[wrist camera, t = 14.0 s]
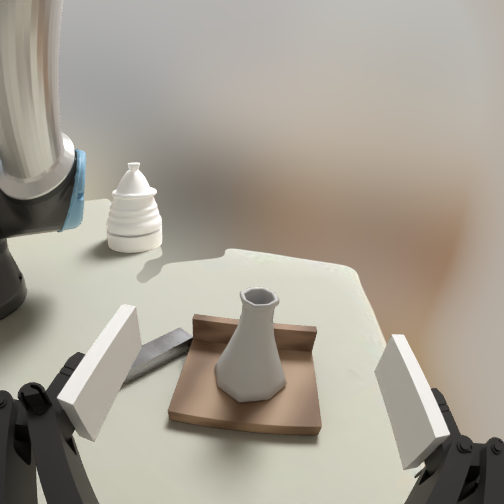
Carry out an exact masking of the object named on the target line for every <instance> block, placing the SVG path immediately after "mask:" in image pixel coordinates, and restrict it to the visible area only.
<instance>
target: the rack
mask: <svg viewBox="0 0 504 504" xmlns="http://www.w3.org/2000/svg"><path fill="white" fill-rule="evenodd" d="M238 323H239V320H238V319H229V318H221V317H213V316H206V315H198V314H194V316H193V341H192V344H191V346H190V349H189V352H188V355H187V358H186V360H185V363H184V366H183V369H182V372H181V374H180V377H179V380H178V383H177V386H176V389H175V392H174V394H173V397H172V400H171V403H170V406H169V409H168V414H169V419H170V420H175V421H180V422H185V423H190V424H196V425H201V426H208V427H214V428H221V429H229V430H238V431H247V432H258V433H272V434H293V435H318V433H319V431H320V429H321V427H322V424H321V416H320V408H319V400H318V392H317V385H316V378H315V371H314V364H313V357H312V349H313V345H314V341H315V338H316V334H317V329H316V327H313V326H300V325H288V324H276V323H273V328H274V338H275V342H276V346H277V350H278V355H279V359H280V362H281V365H282V369H283V372H284V376H285V379H286V383H287V384H286V385H285V386H284V387H283V388H282V389H280V390H279V391H278V392H277V393H276V394H275V395H273V396H272V397H271V398H270V399H268V400H259V401H249V402H238V401H236V400H235V399H234V398H232V397H231V396H230V395H228V394H227V393H226V392H225V391H223V390H222V389H221V388H219V387H218V385H217V379H216V373H215V367H214V366H215V365H216V363H217V361H218V360H219V358H220V356H221V355H222V353H223V352H224V350H225V348H226V347H227V345H228V343H229V341H230V339H231V338H232V336H233V334H234V332H235V330H236V329H237V326H238Z"/></svg>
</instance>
